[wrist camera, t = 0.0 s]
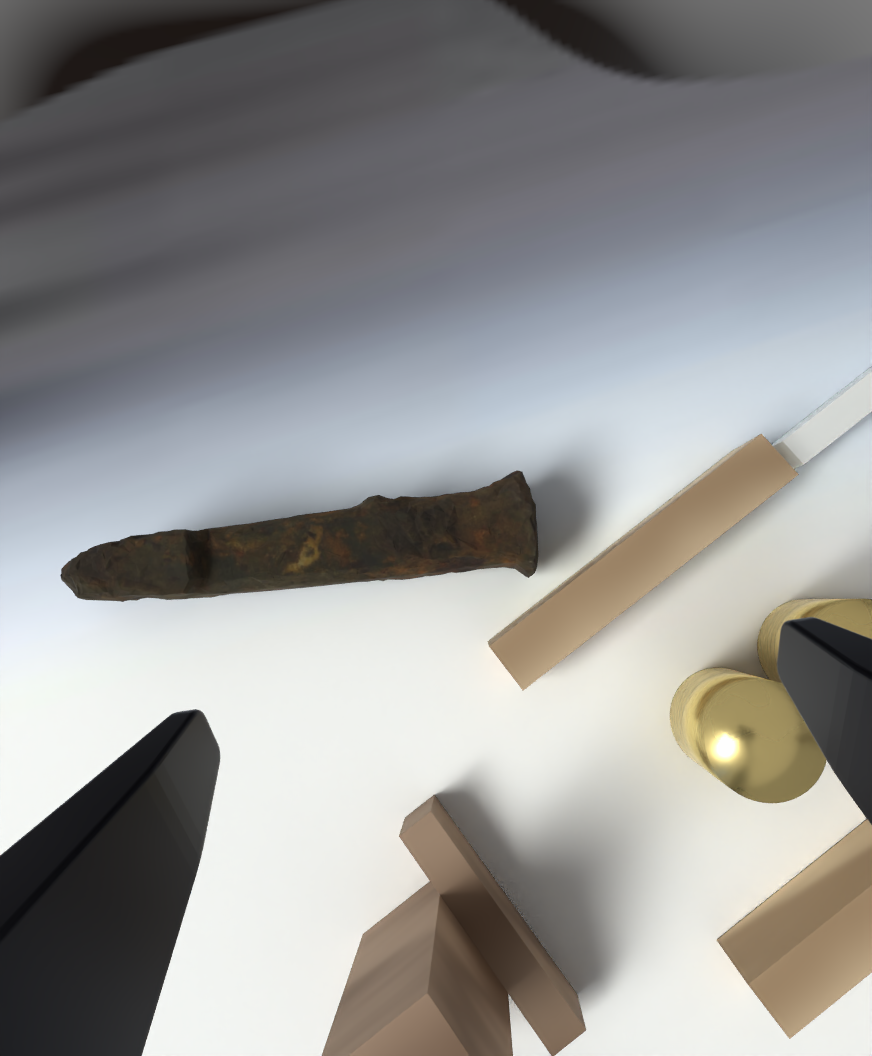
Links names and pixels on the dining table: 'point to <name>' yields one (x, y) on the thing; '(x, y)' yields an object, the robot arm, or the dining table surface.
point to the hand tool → (320, 548)
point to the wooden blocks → (834, 878)
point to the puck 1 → (746, 734)
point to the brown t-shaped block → (450, 963)
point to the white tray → (827, 422)
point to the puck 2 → (845, 613)
